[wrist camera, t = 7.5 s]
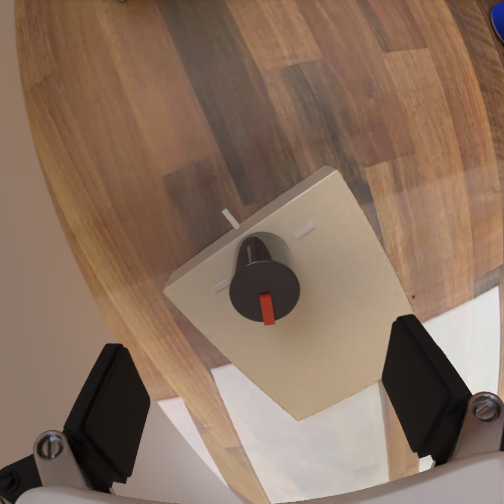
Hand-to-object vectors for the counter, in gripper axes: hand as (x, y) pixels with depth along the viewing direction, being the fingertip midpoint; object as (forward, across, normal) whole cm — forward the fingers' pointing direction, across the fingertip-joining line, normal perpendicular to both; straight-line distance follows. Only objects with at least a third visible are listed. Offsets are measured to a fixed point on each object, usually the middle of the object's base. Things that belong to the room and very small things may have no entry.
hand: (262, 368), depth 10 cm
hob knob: (+10, 0, 0) cm, 10 cm away
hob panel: (+13, -4, +7) cm, 15 cm away
